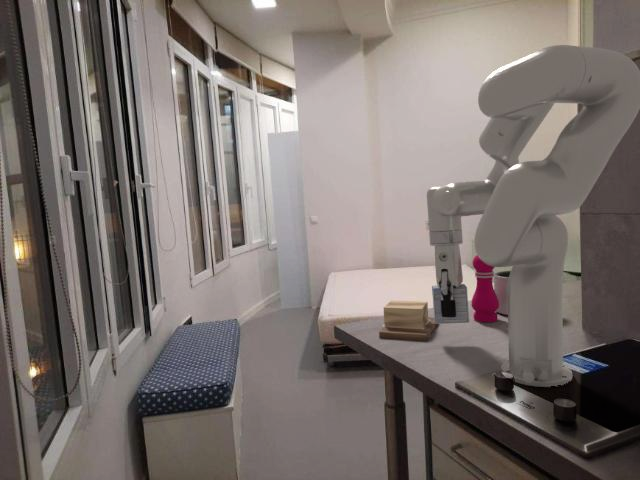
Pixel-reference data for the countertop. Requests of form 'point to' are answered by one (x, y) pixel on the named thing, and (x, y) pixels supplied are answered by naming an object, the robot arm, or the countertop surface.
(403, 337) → the board
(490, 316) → the pepper mill
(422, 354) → the countertop surface
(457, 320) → the medicine box
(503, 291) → the planter
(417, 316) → the oak block
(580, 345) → the countertop surface
